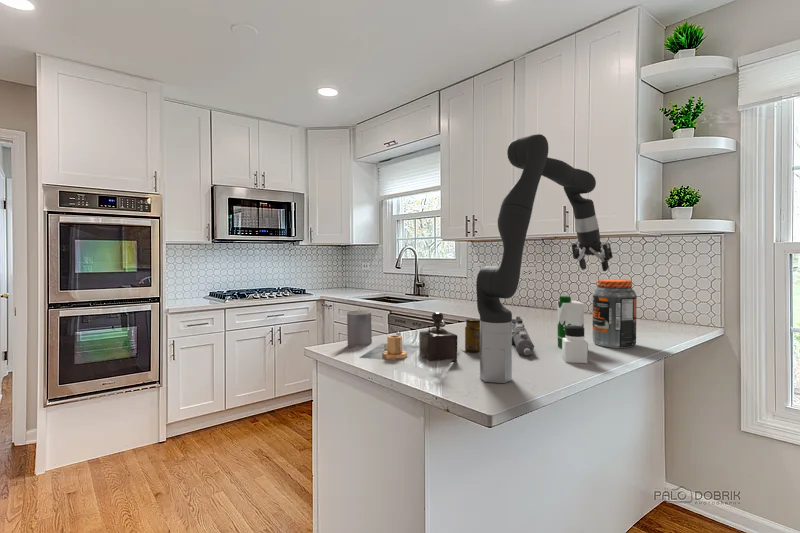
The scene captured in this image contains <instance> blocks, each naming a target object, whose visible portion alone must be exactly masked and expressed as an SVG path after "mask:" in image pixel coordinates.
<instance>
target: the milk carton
mask: <svg viewBox="0 0 800 533" xmlns="http://www.w3.org/2000/svg"><path fill="white" fill-rule="evenodd" d="M571 298H572V297H571V296H567V295H562V296H559V300H557V301H556V306H557V347H558V348H560V349H561V350H562V338H566V337H565V327H566V326H568V325H579V326H582V327H584V326H585V324H584V320H585V318H584V315H585V303H584V302H582V301H577V300H573V301H572V300H571ZM584 328H585V327H584Z"/></svg>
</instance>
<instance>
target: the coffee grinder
mask: <svg viewBox="0 0 800 533" xmlns="http://www.w3.org/2000/svg"><path fill="white" fill-rule="evenodd" d="M431 319H432V320H433V323H432V326H433V327H432V328H430V327H428V330H426V331H419V335H418V336H419V337H418V340H419V343H418V344H419V345H418V346H419V348H418V349H419V351H418V352H419V356H421V357H422V359H426V360H427V361H429V362H437V361H446V360H447V361H448V360H451V362H450V363H451V364H452V363H457V362H458V335H457V334H456V333H453V332H450V331H448V330H446V329H445V328H444V327H445V326H446V322H445V321H444V313H442V312H440V311H434V313H432V315H431Z"/></svg>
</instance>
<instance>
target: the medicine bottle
mask: <svg viewBox="0 0 800 533" xmlns="http://www.w3.org/2000/svg"><path fill="white" fill-rule="evenodd" d="M565 337H566V338H562V349H561V358H562V360H563V361H564V362H565V363H567V364H570V363H572V364H588V363H589V343H588V341H587V340H586V339H585V327H582V326H579V325H568V326H566V327H565Z"/></svg>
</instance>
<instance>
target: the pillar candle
mask: <svg viewBox="0 0 800 533" xmlns="http://www.w3.org/2000/svg"><path fill="white" fill-rule="evenodd" d="M346 313H347V314H346V315H347V316H346V317H347V319H346V321H347V323H346V324H347V325H346V326H347V328H346V329H347V348H349V349H353V348H355V347H360V346H362V347H363V346H369V345H372V343H373V339H372V338H373V337H372V336H373V333H372V329H373V328H372V311H369V310H360V308H359V309H358V310H351V311H348V312H346Z"/></svg>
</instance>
